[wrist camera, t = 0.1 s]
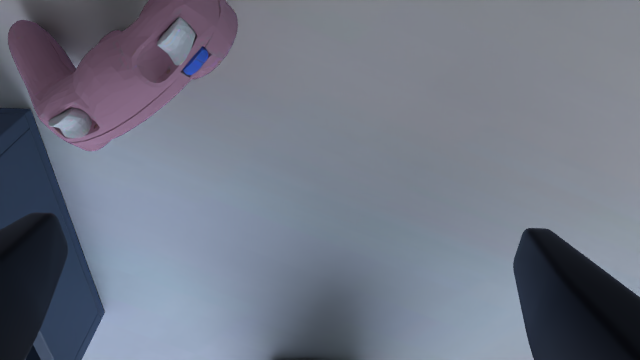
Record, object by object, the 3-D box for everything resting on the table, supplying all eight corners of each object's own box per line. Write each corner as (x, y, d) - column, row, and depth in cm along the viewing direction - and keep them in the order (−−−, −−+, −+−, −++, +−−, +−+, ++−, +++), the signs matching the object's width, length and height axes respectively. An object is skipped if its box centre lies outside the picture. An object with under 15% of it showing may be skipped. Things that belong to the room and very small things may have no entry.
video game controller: (93, 75, 25) (91, 188, 21) (2, 22, 22) (-20, 146, 18) (240, -43, 22) (267, 68, 18) (159, -129, 18) (172, -14, 14)
